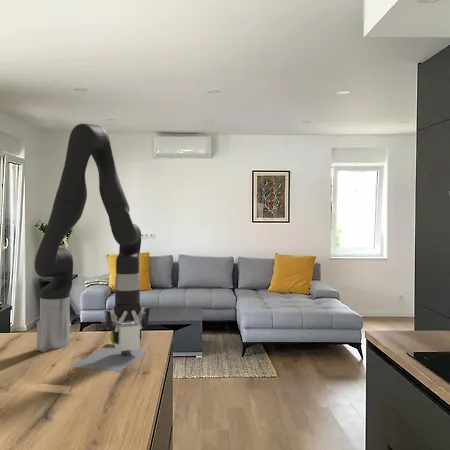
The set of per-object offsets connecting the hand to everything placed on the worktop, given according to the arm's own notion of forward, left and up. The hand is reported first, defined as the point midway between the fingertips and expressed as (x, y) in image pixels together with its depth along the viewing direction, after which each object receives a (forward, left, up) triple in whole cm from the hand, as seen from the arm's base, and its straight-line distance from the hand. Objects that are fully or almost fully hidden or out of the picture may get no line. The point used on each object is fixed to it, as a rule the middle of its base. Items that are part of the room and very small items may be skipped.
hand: (127, 342), depth 154 cm
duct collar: (0, 0, -2) cm, 2 cm away
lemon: (-8, +12, -5) cm, 15 cm away
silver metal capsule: (0, 0, -4) cm, 4 cm away
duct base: (-3, -5, -5) cm, 8 cm away
